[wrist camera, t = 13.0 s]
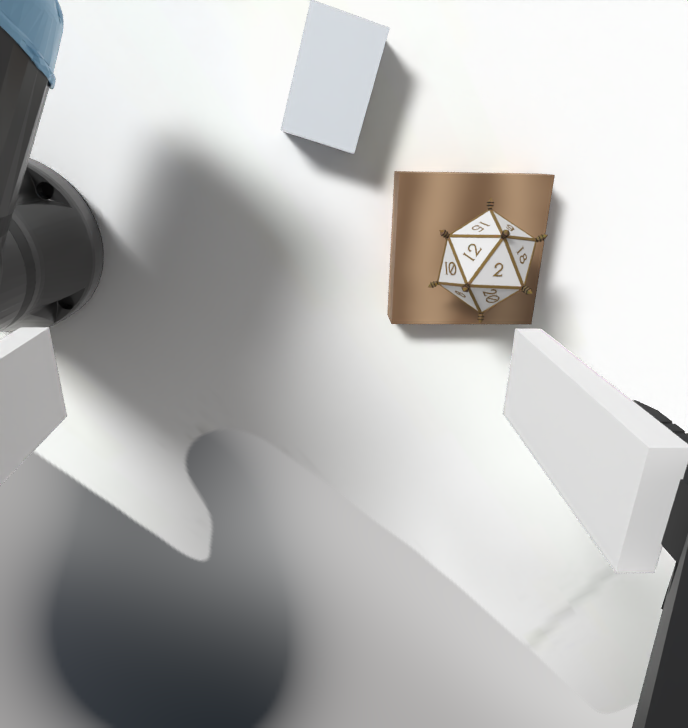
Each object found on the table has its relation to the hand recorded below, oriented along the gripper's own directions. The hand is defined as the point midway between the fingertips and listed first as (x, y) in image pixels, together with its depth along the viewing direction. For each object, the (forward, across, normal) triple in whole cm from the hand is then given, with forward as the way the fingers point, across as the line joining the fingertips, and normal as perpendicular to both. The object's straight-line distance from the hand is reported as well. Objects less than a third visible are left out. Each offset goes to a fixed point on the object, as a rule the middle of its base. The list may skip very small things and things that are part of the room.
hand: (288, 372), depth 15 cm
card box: (+35, +2, +11) cm, 37 cm away
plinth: (+35, +14, -2) cm, 37 cm away
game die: (+32, +14, -2) cm, 35 cm away
